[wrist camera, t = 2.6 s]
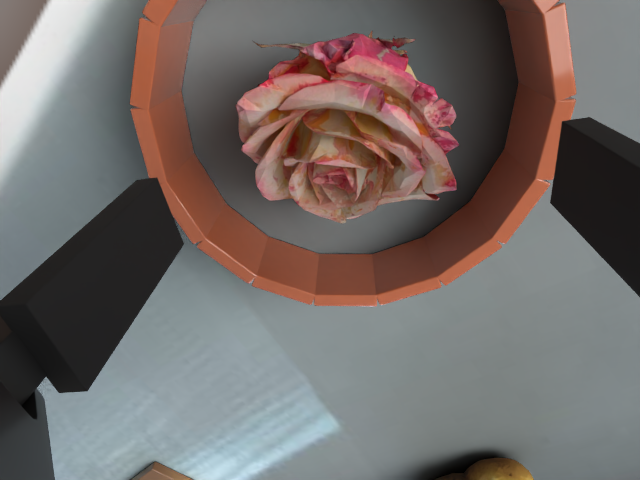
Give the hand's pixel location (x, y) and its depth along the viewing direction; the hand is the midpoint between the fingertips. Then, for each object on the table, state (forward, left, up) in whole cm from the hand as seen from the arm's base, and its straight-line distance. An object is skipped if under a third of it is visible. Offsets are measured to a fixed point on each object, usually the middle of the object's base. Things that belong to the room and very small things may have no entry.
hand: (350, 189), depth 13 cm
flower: (0, 0, -9) cm, 9 cm away
